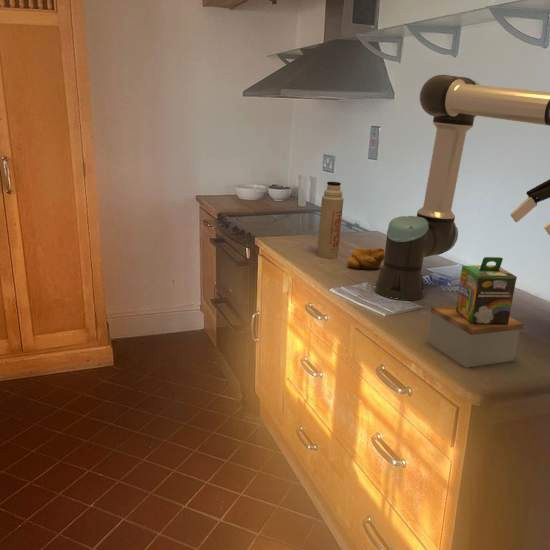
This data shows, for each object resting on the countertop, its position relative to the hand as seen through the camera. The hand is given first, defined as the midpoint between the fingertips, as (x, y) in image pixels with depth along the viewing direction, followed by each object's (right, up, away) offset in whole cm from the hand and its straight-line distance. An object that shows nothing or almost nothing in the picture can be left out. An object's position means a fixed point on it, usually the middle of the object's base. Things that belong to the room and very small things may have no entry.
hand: (529, 224), depth 133 cm
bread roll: (-30, -10, +65) cm, 72 cm away
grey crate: (-15, -30, -1) cm, 34 cm away
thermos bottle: (-42, -5, +77) cm, 88 cm away
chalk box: (-14, -22, -5) cm, 27 cm away
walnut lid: (-14, -23, -3) cm, 27 cm away
